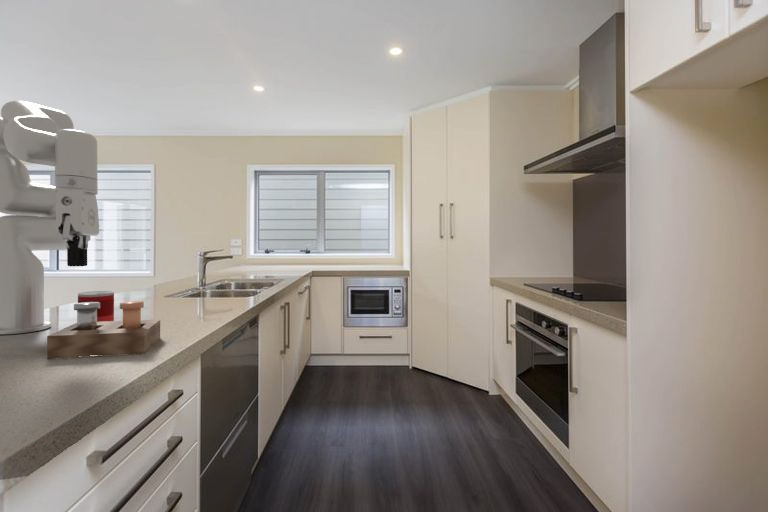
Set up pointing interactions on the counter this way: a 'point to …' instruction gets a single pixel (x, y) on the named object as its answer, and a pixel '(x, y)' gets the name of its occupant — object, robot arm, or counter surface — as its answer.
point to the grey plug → (87, 315)
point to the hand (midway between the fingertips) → (77, 265)
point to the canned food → (105, 303)
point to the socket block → (103, 340)
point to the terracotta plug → (132, 313)
